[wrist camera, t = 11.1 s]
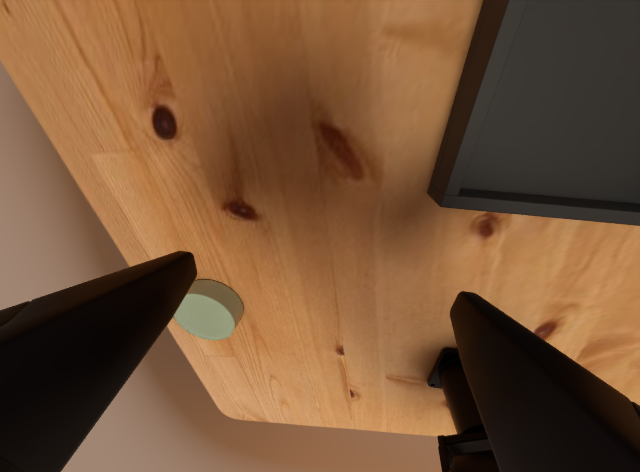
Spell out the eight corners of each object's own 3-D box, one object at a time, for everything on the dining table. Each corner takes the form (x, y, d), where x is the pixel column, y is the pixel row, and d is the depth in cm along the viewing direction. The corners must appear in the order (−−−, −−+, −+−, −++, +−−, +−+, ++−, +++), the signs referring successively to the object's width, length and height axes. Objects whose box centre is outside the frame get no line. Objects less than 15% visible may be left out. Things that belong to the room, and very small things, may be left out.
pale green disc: (246, 327, 26) (238, 344, 24) (192, 320, 27) (179, 336, 25) (240, 283, 23) (230, 298, 21) (178, 275, 23) (163, 289, 22)
